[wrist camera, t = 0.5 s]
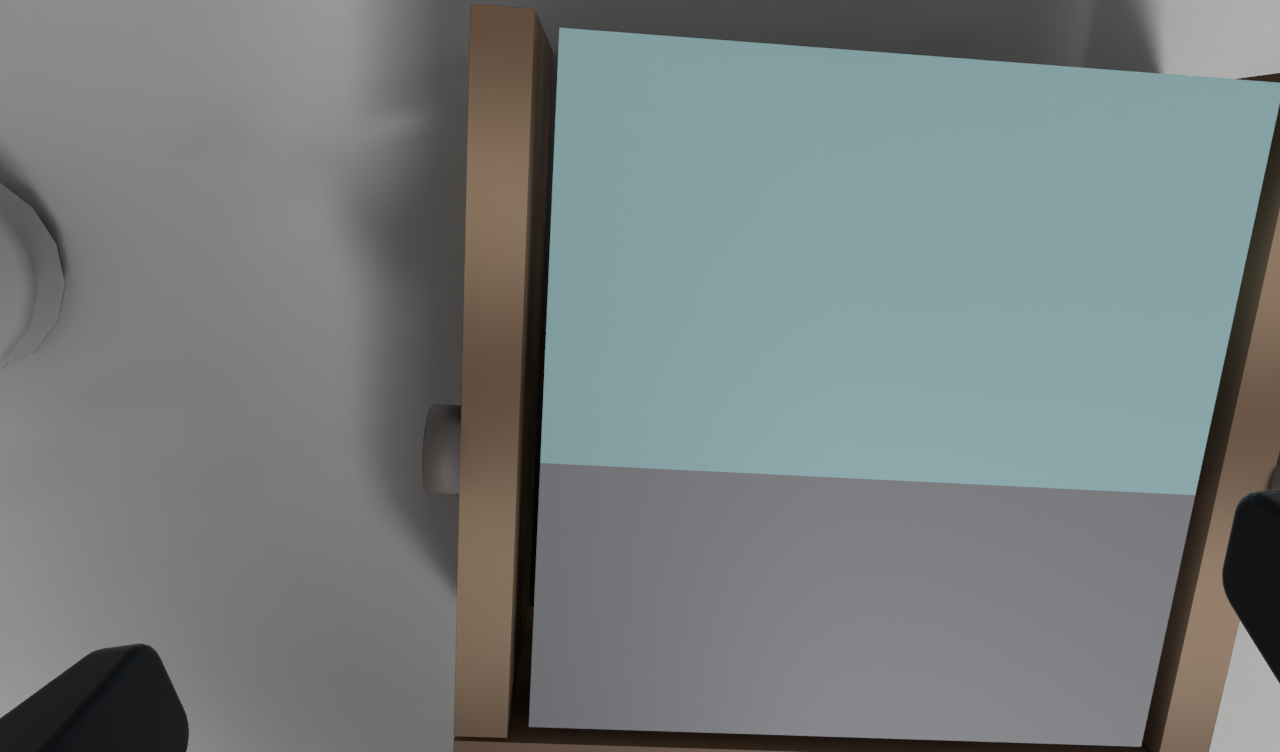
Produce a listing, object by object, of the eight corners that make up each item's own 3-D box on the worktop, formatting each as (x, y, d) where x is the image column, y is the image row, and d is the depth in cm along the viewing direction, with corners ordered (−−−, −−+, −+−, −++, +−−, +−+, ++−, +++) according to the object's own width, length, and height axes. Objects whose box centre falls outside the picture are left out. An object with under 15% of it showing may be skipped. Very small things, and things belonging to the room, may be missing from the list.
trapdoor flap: (1090, 691, 20) (1141, 747, 18) (535, 671, 19) (528, 727, 17) (1208, 92, 17) (1284, 82, 15) (563, 43, 16) (559, 27, 14)
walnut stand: (1083, 659, 24) (1235, 815, 18) (463, 635, 23) (417, 791, 17) (1192, 99, 20) (1417, 74, 15) (478, 45, 20) (428, -3, 14)
